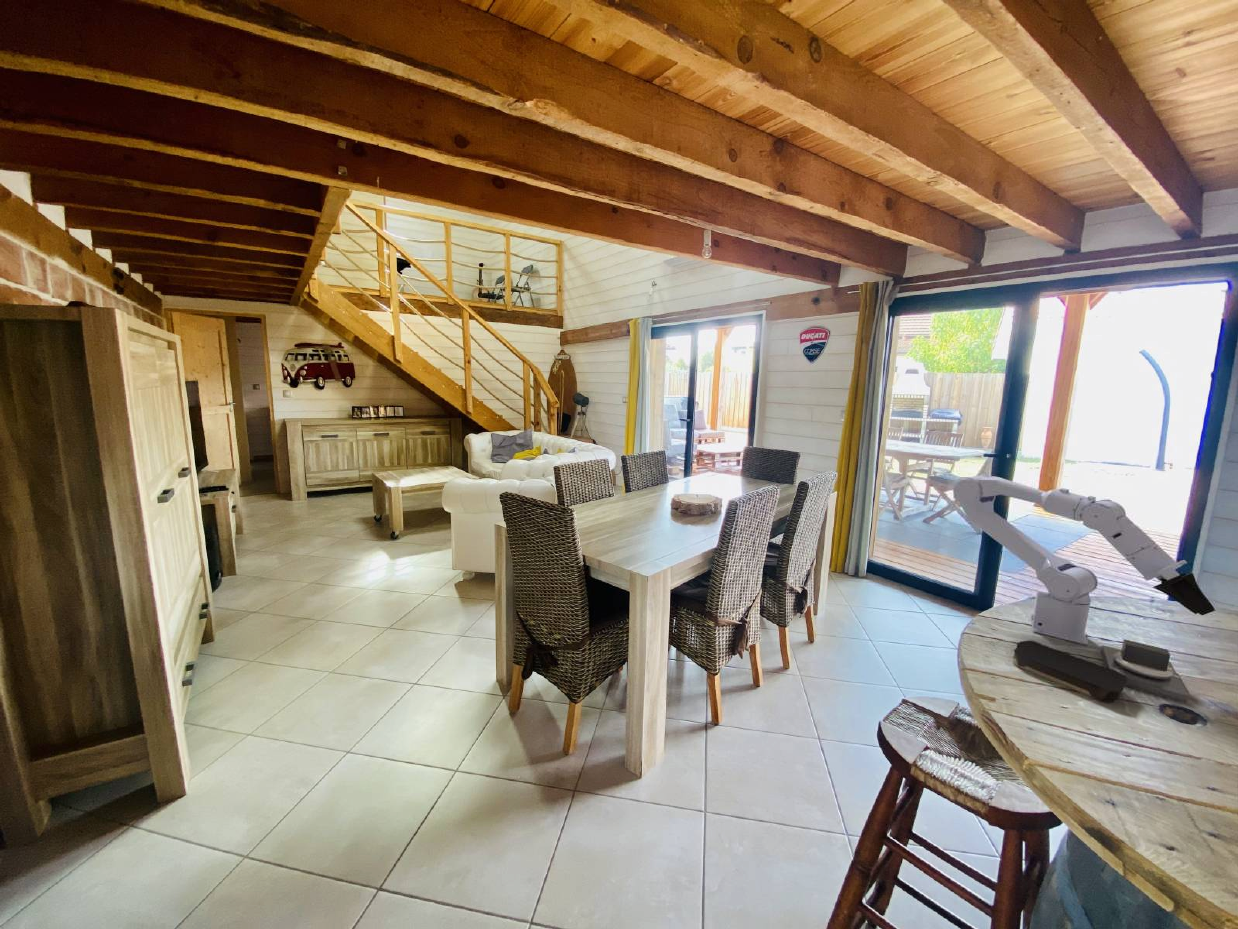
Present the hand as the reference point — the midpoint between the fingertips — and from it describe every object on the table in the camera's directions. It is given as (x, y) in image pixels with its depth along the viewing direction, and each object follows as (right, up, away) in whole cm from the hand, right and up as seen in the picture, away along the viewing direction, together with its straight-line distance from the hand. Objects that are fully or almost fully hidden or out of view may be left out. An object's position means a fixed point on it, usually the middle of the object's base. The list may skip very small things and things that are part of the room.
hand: (1205, 612), depth 93 cm
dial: (-8, -12, +4) cm, 15 cm away
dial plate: (-8, -14, +4) cm, 17 cm away
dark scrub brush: (-24, -14, +3) cm, 28 cm away
